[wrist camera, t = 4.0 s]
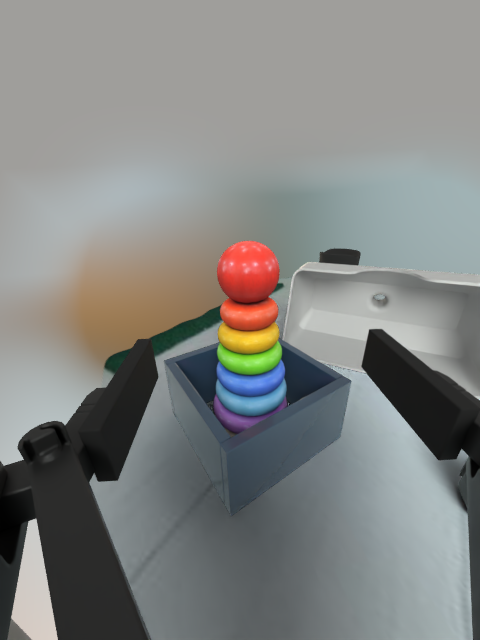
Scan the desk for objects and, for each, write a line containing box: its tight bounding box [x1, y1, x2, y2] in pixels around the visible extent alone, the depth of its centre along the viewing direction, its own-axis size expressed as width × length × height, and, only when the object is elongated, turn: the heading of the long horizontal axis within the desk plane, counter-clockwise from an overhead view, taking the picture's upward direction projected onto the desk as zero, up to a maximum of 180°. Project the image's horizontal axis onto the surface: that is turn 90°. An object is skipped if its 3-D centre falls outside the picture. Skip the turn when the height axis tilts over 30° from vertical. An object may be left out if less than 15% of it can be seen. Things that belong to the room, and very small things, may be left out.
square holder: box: [164, 338, 351, 516], centre depth 26 cm, size 13×13×7 cm
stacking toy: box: [213, 241, 287, 437], centre depth 23 cm, size 8×8×19 cm
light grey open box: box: [282, 262, 480, 399], centre depth 38 cm, size 25×16×12 cm, turn 63°
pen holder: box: [319, 249, 360, 266], centre depth 65 cm, size 9×9×10 cm
